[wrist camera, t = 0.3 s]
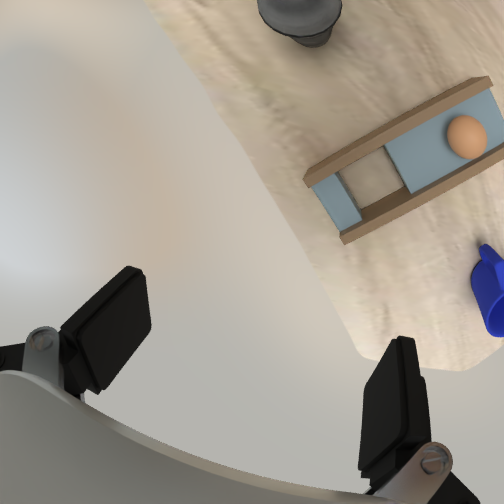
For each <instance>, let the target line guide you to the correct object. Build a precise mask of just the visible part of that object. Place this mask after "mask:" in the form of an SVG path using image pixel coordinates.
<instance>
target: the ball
mask: <svg viewBox="0 0 504 504" xmlns="http://www.w3.org/2000/svg"><path fill="white" fill-rule="evenodd" d="M447 138H448V142H449V145H450V147H451V148H452V150H453V151H454V152H455V153H456V154H457V155H459V156H460V157H462V158H465V159H475V158H478V157H479V156H481V155H482V154H483V153H484V151H485V149H486V146H487V134H486V131H485V129H484V127H483V125H482V124H481V123H480V122H479V121H478V120H477V119H475V118H474V117H471V116H468V115H461V116H458V117H456V118H454V119H453V120H452V121H451V123H450V124H449V126H448V130H447Z"/></svg>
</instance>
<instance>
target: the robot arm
mask: <svg viewBox="0 0 504 504" xmlns="http://www.w3.org/2000/svg"><path fill="white" fill-rule="evenodd" d="M60 328H61V330H60V331H59V332H57V331H56V330H55V329H54V328H52V327H49V326H44V327H39V328H37V329H35V330H33V331H32V332H31V333H30V334H29V335H28V337H27V339H26V343H21V344H15V345H9V346H2V347H0V504H480V501H479V500H478V498H477V497H476V496H475V495H474V494H473V493H472V492H471V491H470V490H469V489H468V488H467V487H466V486H465V485H464V484H463V483H462V482H461V481H460V480H459V479H458V478H457V477H456V476H455V475H454V474H453V473H452V472H451V469H452V465H453V459H452V455H451V453H450V451H449V449H448V448H447V447H446V446H444V445H443V444H441V443H438V442H432V441H431V427H430V417H429V406H428V398H427V390H426V383H425V379H424V377H422V376H421V375H420V368H419V362H418V355H417V349H416V344H415V340H414V338H410V337H405V336H398V337H397V339H392V340H391V342H390V344H389V346H388V348H387V349H386V351H385V353H384V355H383V356H382V358H381V360H380V362H379V363H378V365H377V367H376V369H375V370H374V372H373V374H372V375H371V377H370V378H369V380H368V382H367V383H366V385H365V388H364V395H363V414H362V429H361V441H360V452H359V461H358V470H360V471H362V472H361V478H369V479H370V486H371V487H370V488H369V489H368V490H367V491H365V492H364V493H363V494H357V493H351V492H342V491H334V490H328V489H321V488H315V487H309V486H304V485H299V484H293V483H288V482H284V481H279V480H274V479H271V478H266V477H262V476H258V475H255V474H251V473H247V472H243V471H240V470H237V469H233V468H230V467H227V466H224V465H221V464H218V463H214V462H211V461H209V460H206V459H203V458H200V457H197V456H194V455H192V454H189V453H187V452H184V451H182V450H179V449H176V448H174V447H172V446H169V445H167V444H165V443H162V442H160V441H158V440H155V439H153V438H151V437H148V436H146V435H144V434H142V433H140V432H138V431H136V430H134V429H132V428H130V427H128V426H126V425H124V424H122V423H120V422H118V421H116V420H114V419H112V418H110V417H109V416H107V415H105V414H103V413H101V412H100V411H98V410H96V409H94V408H93V407H91V406H89V405H87V404H86V403H85V399H84V392H85V391H86V389H88V390H90V391H92V392H93V393H95V394H97V395H98V394H99V393H100V392H101V390H105V389H106V388H107V387H108V386H109V385H110V383H111V382H112V381H113V379H114V378H115V377H116V375H117V374H118V373H119V371H120V370H121V369H122V368H123V366H124V365H125V364H126V362H127V361H128V360H129V358H130V357H131V356H132V354H133V353H134V352H135V351H136V349H137V348H138V346H139V345H140V344H141V343H142V342H143V340H144V339H145V338H146V336H147V335H148V334H149V332H150V330H151V317H150V310H149V302H148V294H147V285H146V277H145V275H144V274H143V272H142V270H141V269H138V268H135V267H132V266H126V267H125V268H124V269H122V270H121V271H120V272H119V273H118V274H117V275H116V276H115V277H113V278H112V279H111V280H110V281H109V282H108V283H107V284H106V285H104V286H103V287H102V288H101V289H100V290H99V291H98V292H97V293H96V294H95V295H93V296H92V297H91V298H90V299H89V300H88V301H87V302H86V303H85V304H84V305H83V306H82V307H81V308H80V309H78V310H77V311H76V312H75V313H74V314H73V315H72V316H71V317H70V318H69V319H68V320H67V321H66V322H65V323H64V324H63V325H62V326H61V327H60Z"/></svg>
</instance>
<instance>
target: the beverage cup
mask: <svg viewBox="0 0 504 504" xmlns="http://www.w3.org/2000/svg"><path fill="white" fill-rule="evenodd" d="M257 3H258V10H259V14H260V15H261V17H262V19H263V20H264V22H265V23H266V24H267V25H268V26H269V27H270V28H272V29H273V30H274V31H276V32H278V33H280V34H283V35H285V36H289V37H291V38H292V39H294V40H295V41H296V42H298V43H300V44H302V45H304V46H306V47H311V48H312V47H319V46H322V45H323V44H325V43H326V42H327V41H328V39H329V38H330V36H331V32H332V28H333V26H334V25H335V23H336V22H337V20H338V18H339V17H340V15H341V9H342V1H341V0H257Z"/></svg>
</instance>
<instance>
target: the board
mask: <svg viewBox="0 0 504 504" xmlns="http://www.w3.org/2000/svg"><path fill="white" fill-rule="evenodd" d="M492 86H493V84H492V82H491V80H490V78H489V76H484V77H476V78H471V79H469V80H467V81H465V82H463V83H461V84H459V85H457V86H455V87H453V88H451V89H450V90H448V91H446V92H444V93H442V94H440V95H438V96H436V97H434V98H432V99H431V100H429V101H427V102H425V103H423V104H421V105H419V106H418V107H416V108H414V109H412V110H410V111H408V112H407V113H405V114H403V115H401V116H399V117H398V118H396V119H394V120H392V121H390V122H389V123H387V124H385V125H383V126H382V127H380V128H378V129H376V130H374V131H373V132H371V133H369V134H367V135H366V136H364V137H362V138H361V139H359V140H357V141H355V142H354V143H352V144H350V145H348V146H347V147H345V148H343V149H342V150H340V151H338V152H337V153H335V154H333V155H332V156H330V157H328V158H326V159H325V160H323V161H321V162H320V163H318V164H316V165H315V166H313V167H312V168H310V169H308V170H307V172H306V174H305V176H304V178H303V181H304V182H305V184H306V185H307V187H308V188H310V187H312V189H313V190H314V192H315V193H316V195H317V197H318V198H319V200H320V201H321V203H322V204H323V206H324V207H325V209H326V211H327V212H328V214H329V215H330V217H331V219H332V220H333V222H334V223H335V225H336V227H337V228H338V230H339V232H340V239H341V240H342V242H343V244H344V245H346V244H348V243H350V242H352V241H354V240H356V239H358V238H360V237H362V236H363V235H365V234H367V233H369V232H371V231H373V230H375V229H377V228H379V227H381V226H383V225H385V224H387V223H389V222H391V221H392V220H394V219H396V218H398V217H400V216H402V215H404V214H406V213H408V212H409V211H411V210H413V209H415V208H417V207H419V206H421V205H422V204H424V203H426V202H428V201H430V200H432V199H434V198H435V197H437V196H439V195H441V194H443V193H445V192H446V191H448V190H450V189H452V188H454V187H455V186H457V185H459V184H461V183H463V182H464V181H466V180H468V179H470V178H471V177H473V176H475V175H477V174H478V173H480V172H482V171H484V170H485V169H487V168H489V167H491V166H492V165H494V164H496V163H498V162H499V161H501V160H503V159H504V120H503V117H502V115H501V112H500V110H499V108H498V106H497V104H496V101H495V99H494V97H493V95H492V93H491V91H490V89H489V88H490V87H492ZM461 115H468V116H471V117H474V118H475V119H477V120H478V121H479V122H480V123H481V124H482V125H483V127H484V129H485V131H486V134H487V146H486V149H485V151H484V153H483V154H482V155H481V156H479V157H478V158H475V159H465V158H462V157H460V156H459V155H457V154H456V153H455V152H454V151H453V150H452V148H451V147H450V145H449V142H448V138H447V130H448V126H449V124H450V123H451V121H452V120H453V119H454V118H456V117H458V116H461ZM381 146H384V148H385V149H386V151H387V153H388V155H389V156H390V158H391V160H392V162H393V164H394V165H395V167H396V169H397V171H398V173H399V175H400V177H401V179H402V180H403V182H404V184H405V187H403V188H401V189H399V190H397V191H396V192H394V193H392V194H390V195H388V196H386V197H384V198H383V199H381V200H379V201H377V202H375V203H373V204H371V205H370V206H368V207H366V208H364V209H362V210H360V208H359V206H358V204H357V203H356V201H355V199H354V198H353V196H352V194H351V193H350V191H349V189H348V188H347V186H346V184H345V183H344V181H343V179H342V178H341V176H340V175H339V173H338V171H339V170H341V169H342V168H344V167H346V166H348V165H349V164H351V163H353V162H355V161H356V160H358V159H360V158H362V157H363V156H365V155H367V154H369V153H370V152H372V151H374V150H376V149H377V148H379V147H381Z"/></svg>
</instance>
